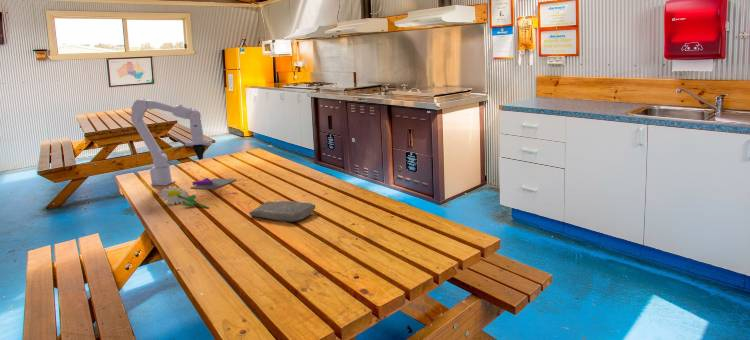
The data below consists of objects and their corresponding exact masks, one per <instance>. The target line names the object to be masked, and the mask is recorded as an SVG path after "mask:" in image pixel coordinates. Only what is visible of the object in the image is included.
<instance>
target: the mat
mask: <svg viewBox="0 0 750 340" xmlns="http://www.w3.org/2000/svg"><path fill="white" fill-rule="evenodd" d="M210 180H211V181H213V185H193V186H191V187H190V189H191V190H193V189H194V190H195V189H196V190H209V191H212V190H213V191H215V190H216V189H217V190H218V189H219V188H221V187H224V186H226V185H228V184H231V183H233V182H236V181H237V180H238V179H236V178H211V179H210Z"/></svg>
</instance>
